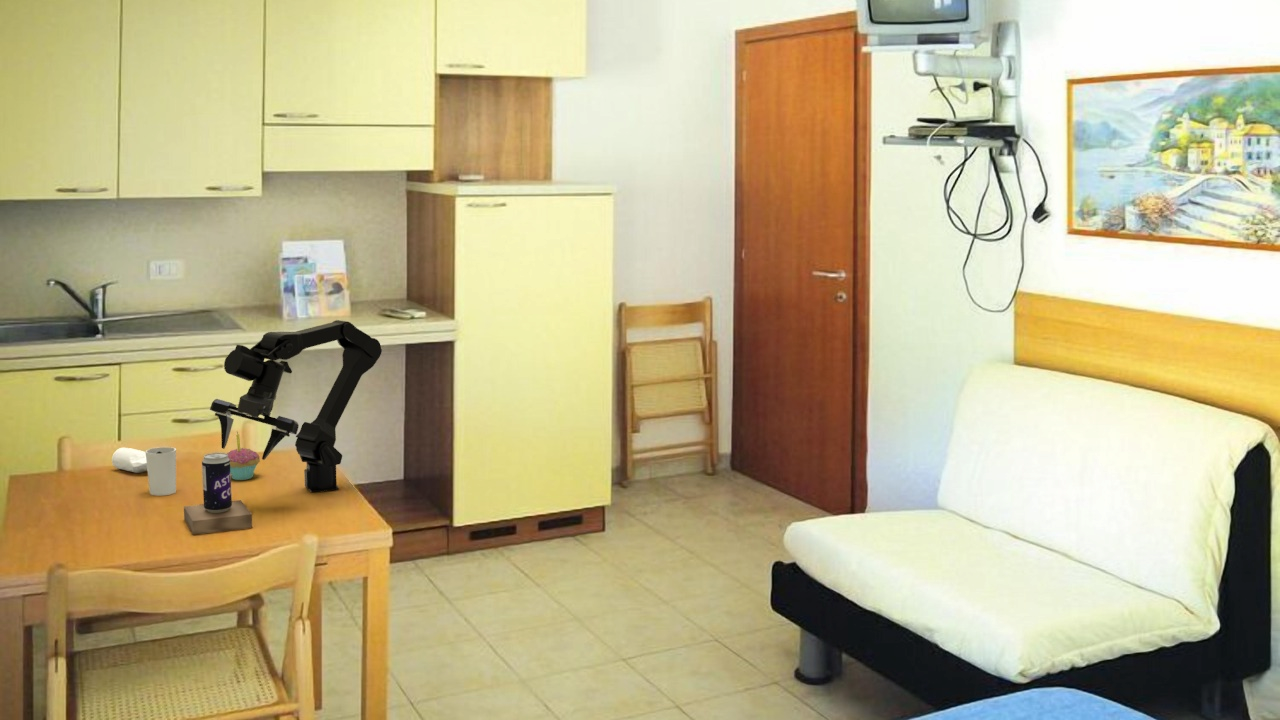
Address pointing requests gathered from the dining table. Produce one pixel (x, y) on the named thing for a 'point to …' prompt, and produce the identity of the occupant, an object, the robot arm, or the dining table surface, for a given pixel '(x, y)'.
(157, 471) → the grey cylinder
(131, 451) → the roll
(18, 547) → the dining table surface
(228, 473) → the beverage can
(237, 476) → the cupcake
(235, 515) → the walnut base
